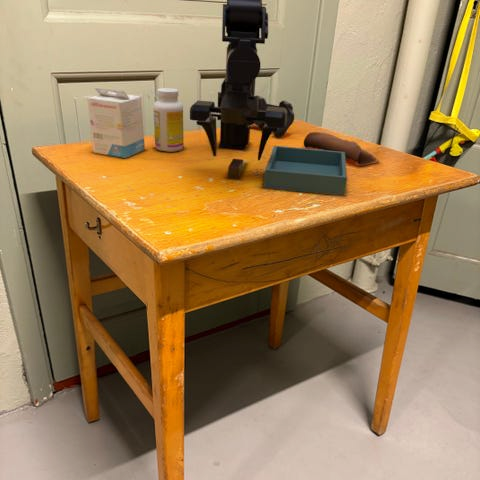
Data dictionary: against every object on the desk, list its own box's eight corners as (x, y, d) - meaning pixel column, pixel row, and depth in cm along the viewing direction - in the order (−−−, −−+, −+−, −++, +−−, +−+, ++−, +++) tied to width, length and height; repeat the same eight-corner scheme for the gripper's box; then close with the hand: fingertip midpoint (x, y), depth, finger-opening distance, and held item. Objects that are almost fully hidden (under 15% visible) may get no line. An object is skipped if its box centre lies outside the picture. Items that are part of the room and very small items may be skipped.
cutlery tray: (263, 188, 102) (265, 169, 100) (272, 161, 117) (274, 145, 116) (343, 195, 100) (347, 177, 98) (342, 168, 116) (344, 151, 114)
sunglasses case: (381, 160, 121) (377, 136, 116) (362, 179, 120) (356, 156, 115) (326, 142, 133) (319, 119, 128) (307, 159, 131) (300, 137, 127)
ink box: (145, 150, 120) (143, 87, 113) (124, 159, 113) (119, 93, 106) (115, 144, 123) (110, 83, 115) (92, 152, 116) (85, 87, 109)
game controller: (292, 145, 140) (305, 109, 138) (280, 137, 134) (294, 98, 133) (244, 134, 148) (256, 99, 147) (231, 125, 142) (243, 89, 141)
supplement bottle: (188, 147, 124) (188, 89, 117) (176, 154, 119) (175, 93, 112) (162, 143, 126) (161, 86, 119) (149, 150, 120) (147, 90, 113)
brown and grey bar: (238, 179, 106) (239, 167, 104) (227, 178, 106) (228, 166, 105) (246, 163, 115) (246, 152, 114) (236, 162, 115) (236, 151, 114)
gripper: (182, 77, 93) (183, 164, 102) (286, 85, 91) (278, 173, 100) (196, 69, 102) (195, 150, 111) (290, 76, 101) (283, 158, 109)
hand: (236, 157), depth 107 cm, fingers open, 9 cm apart
